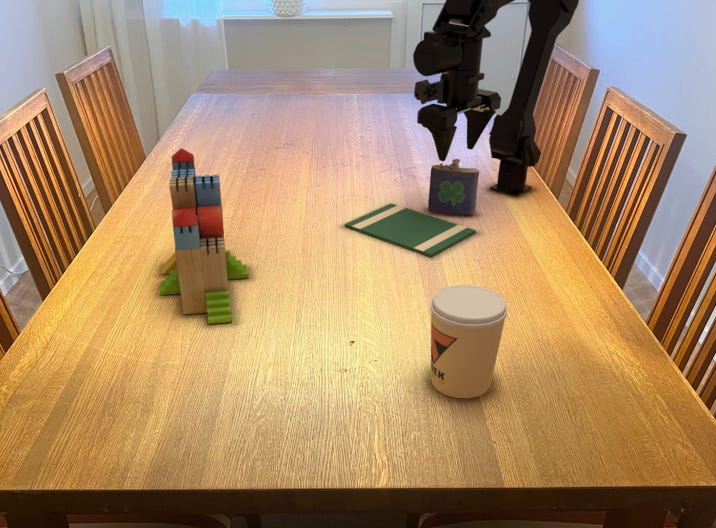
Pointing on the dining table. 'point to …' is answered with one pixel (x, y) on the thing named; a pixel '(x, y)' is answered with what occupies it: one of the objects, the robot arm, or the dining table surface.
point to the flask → (453, 190)
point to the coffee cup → (465, 339)
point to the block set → (199, 244)
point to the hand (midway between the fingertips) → (456, 154)
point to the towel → (411, 229)
